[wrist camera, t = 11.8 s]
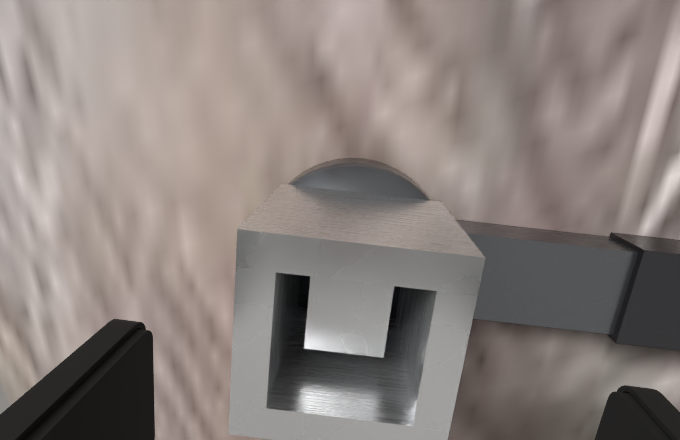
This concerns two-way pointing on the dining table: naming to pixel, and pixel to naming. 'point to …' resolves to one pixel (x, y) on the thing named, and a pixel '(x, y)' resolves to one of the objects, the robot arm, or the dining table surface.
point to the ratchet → (506, 277)
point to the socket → (341, 368)
